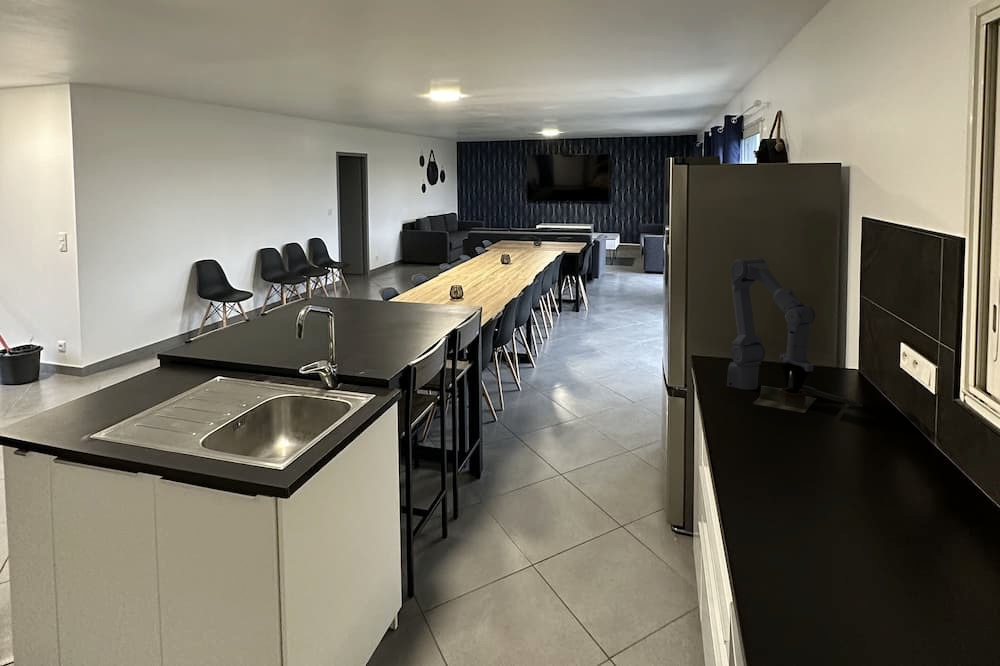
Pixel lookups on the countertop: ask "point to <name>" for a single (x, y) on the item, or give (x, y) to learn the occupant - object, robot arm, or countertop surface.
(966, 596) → the countertop surface
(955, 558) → the countertop surface
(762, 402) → the hinge base
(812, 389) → the caliper
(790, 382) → the steel pin
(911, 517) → the countertop surface
